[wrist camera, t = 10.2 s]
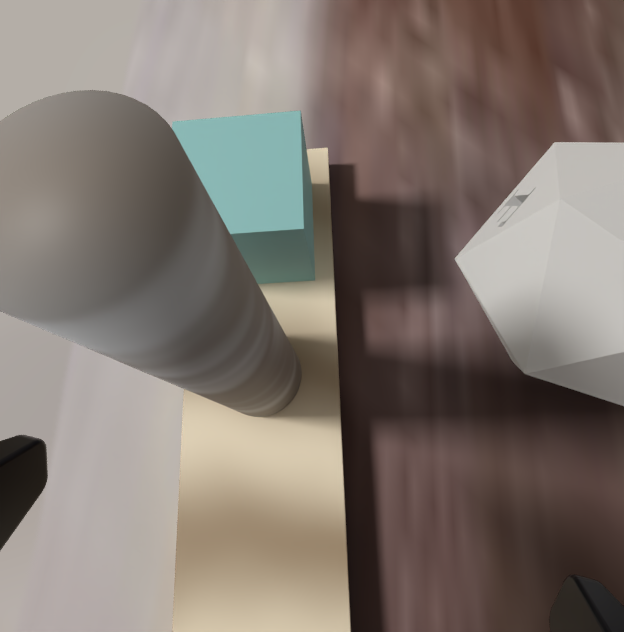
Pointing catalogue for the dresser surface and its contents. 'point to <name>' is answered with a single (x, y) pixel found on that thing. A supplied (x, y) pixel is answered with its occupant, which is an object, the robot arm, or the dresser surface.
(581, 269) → the die
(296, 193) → the cube
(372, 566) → the dresser surface
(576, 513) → the dresser surface
